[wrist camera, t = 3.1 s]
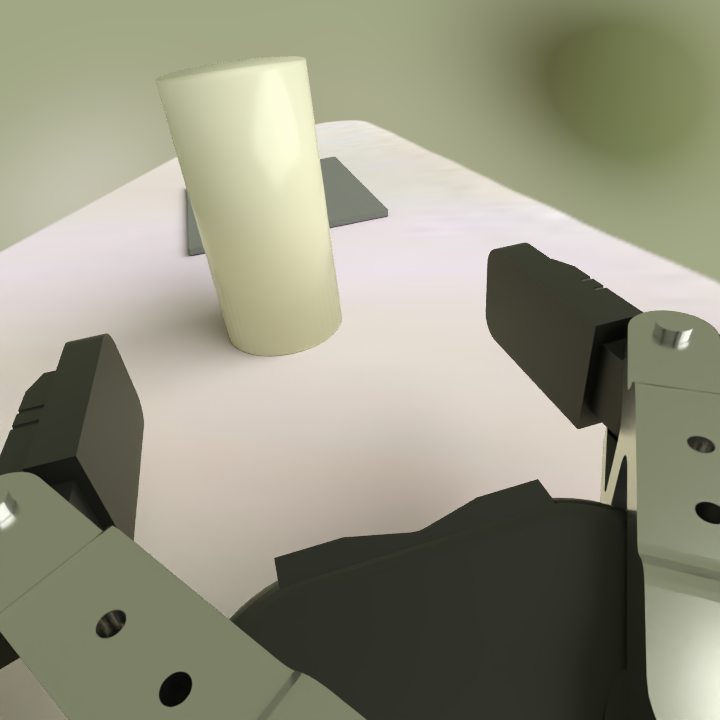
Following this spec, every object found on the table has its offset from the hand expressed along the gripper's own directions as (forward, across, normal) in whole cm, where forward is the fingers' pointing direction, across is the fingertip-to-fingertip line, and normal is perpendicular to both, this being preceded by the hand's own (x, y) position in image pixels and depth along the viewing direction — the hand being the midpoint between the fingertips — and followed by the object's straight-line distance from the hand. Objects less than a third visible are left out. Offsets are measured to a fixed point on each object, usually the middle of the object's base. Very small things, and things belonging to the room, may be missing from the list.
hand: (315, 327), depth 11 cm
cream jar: (+11, 0, +6) cm, 13 cm away
